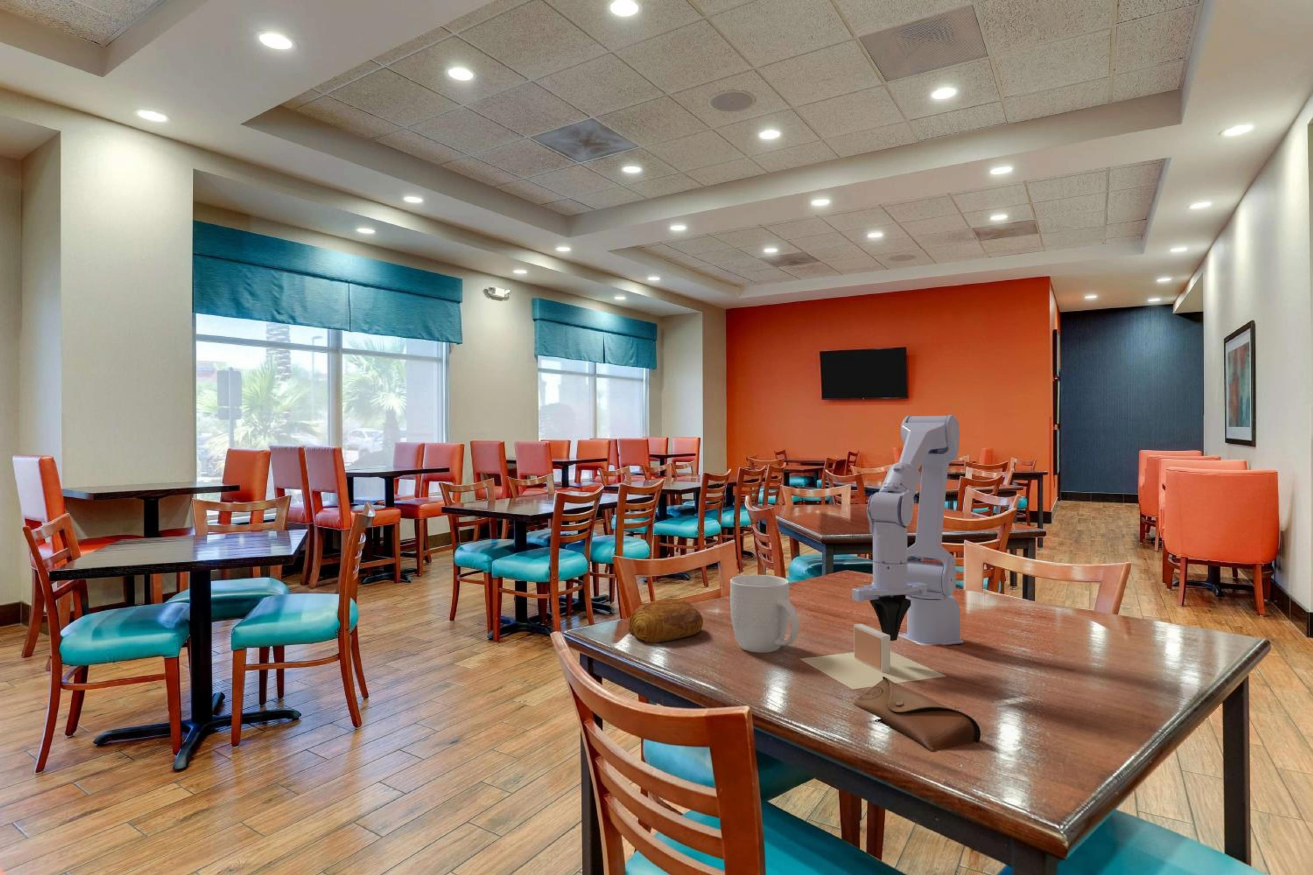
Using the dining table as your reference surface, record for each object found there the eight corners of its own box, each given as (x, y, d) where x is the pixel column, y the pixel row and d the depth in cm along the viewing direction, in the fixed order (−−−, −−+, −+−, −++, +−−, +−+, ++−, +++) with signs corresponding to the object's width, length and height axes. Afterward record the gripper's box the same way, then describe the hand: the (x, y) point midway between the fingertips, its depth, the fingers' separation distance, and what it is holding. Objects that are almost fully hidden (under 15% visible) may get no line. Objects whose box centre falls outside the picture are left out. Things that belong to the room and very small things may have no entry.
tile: (861, 657, 126) (861, 623, 126) (890, 671, 119) (890, 635, 119) (853, 658, 126) (853, 624, 126) (881, 672, 118) (881, 636, 118)
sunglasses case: (841, 704, 106) (859, 662, 107) (872, 721, 108) (889, 680, 110) (934, 753, 90) (954, 704, 91) (969, 772, 92) (988, 723, 93)
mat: (884, 651, 132) (884, 648, 132) (946, 679, 117) (946, 675, 117) (799, 662, 126) (799, 658, 126) (852, 692, 111) (852, 689, 111)
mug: (818, 656, 129) (817, 584, 129) (775, 668, 122) (774, 592, 122) (759, 637, 141) (759, 572, 141) (718, 647, 134) (717, 578, 134)
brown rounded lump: (714, 646, 143) (719, 606, 143) (650, 648, 134) (655, 606, 135) (672, 628, 155) (677, 591, 155) (611, 629, 146) (616, 590, 147)
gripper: (907, 555, 130) (907, 629, 130) (841, 560, 125) (841, 637, 125) (935, 561, 123) (935, 639, 123) (866, 567, 118) (866, 648, 118)
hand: (890, 639), depth 124 cm, fingers closed
